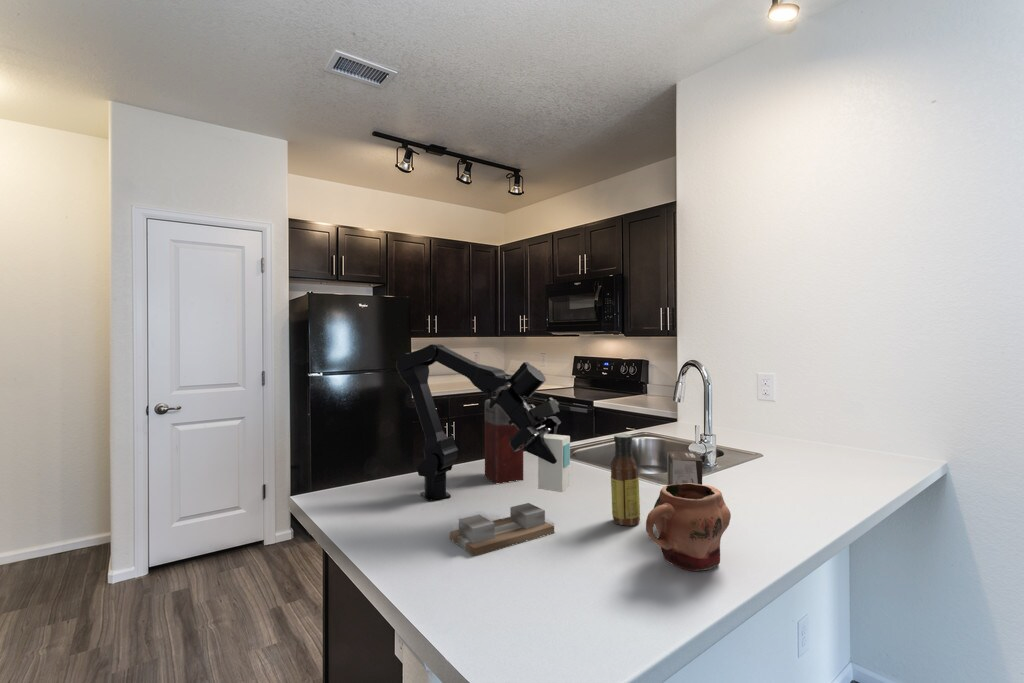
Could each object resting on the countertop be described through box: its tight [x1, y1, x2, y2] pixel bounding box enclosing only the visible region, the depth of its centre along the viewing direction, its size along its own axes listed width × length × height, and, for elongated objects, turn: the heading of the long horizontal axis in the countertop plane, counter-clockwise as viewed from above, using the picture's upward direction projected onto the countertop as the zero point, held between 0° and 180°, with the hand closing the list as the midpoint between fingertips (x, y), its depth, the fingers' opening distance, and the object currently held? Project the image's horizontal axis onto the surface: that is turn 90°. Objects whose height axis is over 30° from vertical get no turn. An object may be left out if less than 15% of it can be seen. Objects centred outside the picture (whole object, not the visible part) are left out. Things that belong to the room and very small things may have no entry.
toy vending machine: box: [484, 385, 524, 484], centre depth 150 cm, size 9×11×28 cm
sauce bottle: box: [610, 433, 641, 527], centre depth 113 cm, size 6×6×20 cm
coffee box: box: [666, 450, 703, 485], centre depth 110 cm, size 9×6×16 cm
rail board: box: [449, 502, 555, 557], centre depth 105 cm, size 10×20×4 cm, turn 125°
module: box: [537, 434, 571, 493], centre depth 117 cm, size 6×5×12 cm
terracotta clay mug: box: [645, 483, 732, 572], centre depth 92 cm, size 20×12×14 cm, turn 125°
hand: (559, 460), depth 116 cm, fingers closed on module, 5 cm apart
